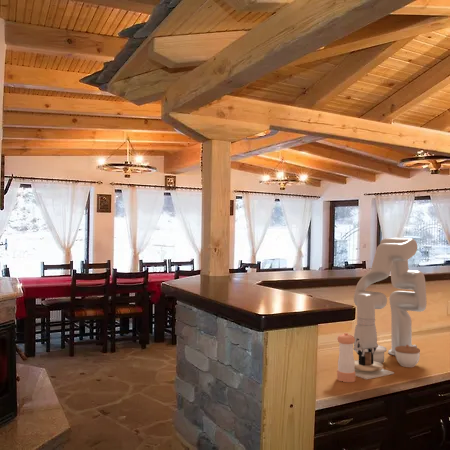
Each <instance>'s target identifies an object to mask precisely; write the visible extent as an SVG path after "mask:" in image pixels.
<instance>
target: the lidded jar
mask: <svg viewBox="0 0 450 450" xmlns="http://www.w3.org/2000/svg"><path fill="white" fill-rule="evenodd" d="M420 354H421V349H420V348H418V347H417V348H416V347H410V346H409V345H406V346H397V347H395V355H396V356H395V355H394V356H395V359H396V361H397V363H398V364H399V365H400V366H401V367H405V368H414V367H416V365H417V364H418V363H419V360H420V356H421V355H420Z"/></svg>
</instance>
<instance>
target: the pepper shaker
mask: <svg viewBox="0 0 450 450" xmlns="http://www.w3.org/2000/svg"><path fill="white" fill-rule="evenodd" d="M337 342H338V343H339V345H338V347H339V348H338V350H339V351H338V353H339V354H338V360H337V371H336V380H337V381H339V382H342V381H343V383H354V382H355V381H356V376H355V371H354V367H355V363H354V361H355V357H354V342H355V338H354V335H352V334H349V333H348V332H344V333H342V334H339V335H338V336H337Z"/></svg>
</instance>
